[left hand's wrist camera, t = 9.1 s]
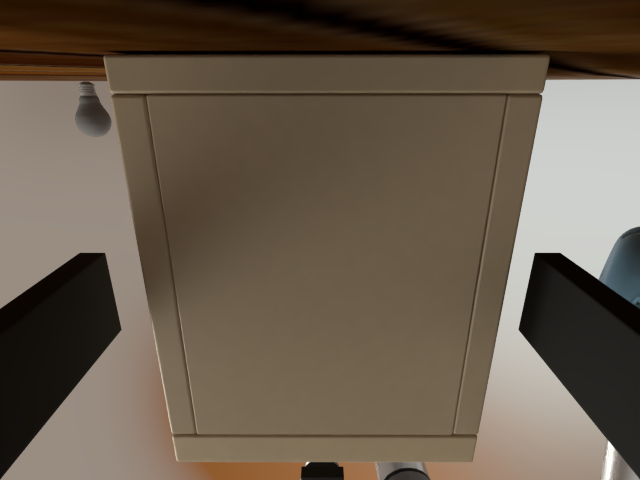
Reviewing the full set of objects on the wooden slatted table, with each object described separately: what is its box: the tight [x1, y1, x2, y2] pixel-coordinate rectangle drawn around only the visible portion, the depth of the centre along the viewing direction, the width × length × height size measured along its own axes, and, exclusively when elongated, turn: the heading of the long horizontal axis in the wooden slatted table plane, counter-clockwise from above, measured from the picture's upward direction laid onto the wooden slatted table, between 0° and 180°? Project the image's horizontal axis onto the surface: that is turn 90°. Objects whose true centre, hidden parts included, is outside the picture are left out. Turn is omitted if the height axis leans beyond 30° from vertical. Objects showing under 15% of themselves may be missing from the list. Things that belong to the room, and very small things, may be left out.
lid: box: [172, 432, 477, 462], centre depth 23 cm, size 18×10×8 cm, turn 0°
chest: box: [104, 54, 550, 435], centre depth 19 cm, size 17×10×11 cm, turn 0°
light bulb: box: [75, 82, 111, 137], centre depth 76 cm, size 6×6×10 cm
